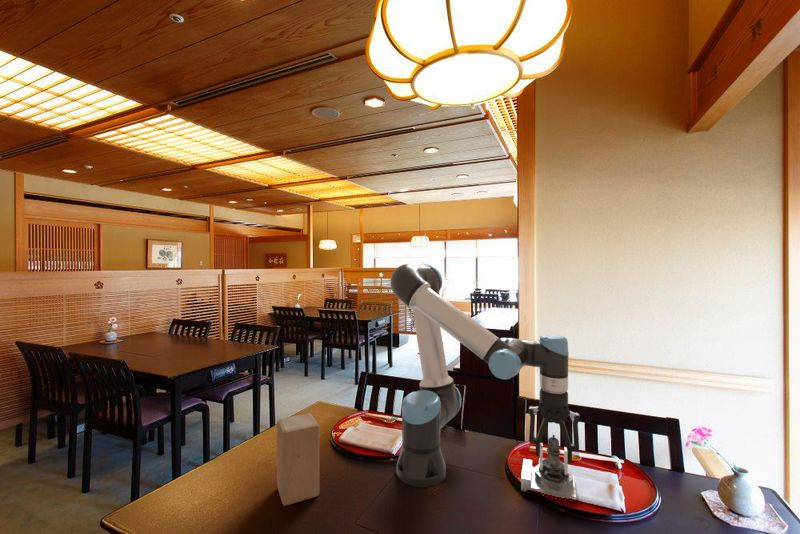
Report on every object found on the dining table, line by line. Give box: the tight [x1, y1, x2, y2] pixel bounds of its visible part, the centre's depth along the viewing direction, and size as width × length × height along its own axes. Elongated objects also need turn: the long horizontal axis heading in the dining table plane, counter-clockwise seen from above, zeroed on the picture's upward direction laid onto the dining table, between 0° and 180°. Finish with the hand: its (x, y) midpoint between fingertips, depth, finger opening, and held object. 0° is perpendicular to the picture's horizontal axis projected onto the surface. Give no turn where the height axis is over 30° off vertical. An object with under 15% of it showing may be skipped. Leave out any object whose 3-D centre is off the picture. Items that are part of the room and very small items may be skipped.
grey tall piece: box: [543, 434, 564, 481], centre depth 103 cm, size 6×6×12 cm
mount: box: [520, 458, 577, 499], centre depth 104 cm, size 14×11×4 cm
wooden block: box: [276, 413, 320, 506], centre depth 101 cm, size 10×10×20 cm
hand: (553, 469), depth 103 cm, fingers closed on grey tall piece, 6 cm apart
